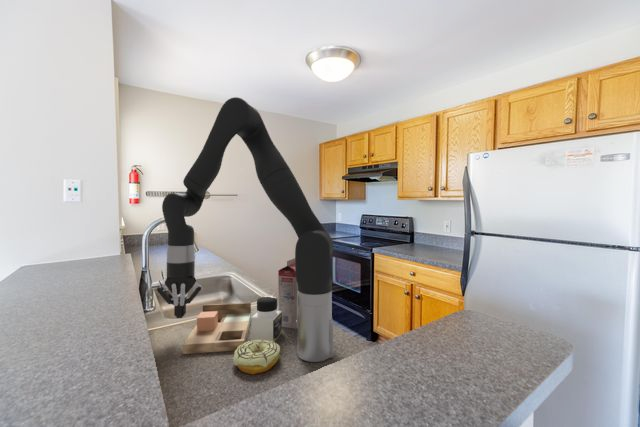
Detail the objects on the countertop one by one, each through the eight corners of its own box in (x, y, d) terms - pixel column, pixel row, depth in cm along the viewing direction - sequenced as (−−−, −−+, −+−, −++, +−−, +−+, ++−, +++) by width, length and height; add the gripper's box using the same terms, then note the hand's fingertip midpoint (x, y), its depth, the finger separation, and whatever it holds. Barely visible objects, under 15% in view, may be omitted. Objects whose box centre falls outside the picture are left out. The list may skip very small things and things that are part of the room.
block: (217, 323, 89) (217, 311, 89) (214, 330, 84) (214, 317, 84) (201, 324, 88) (201, 312, 88) (196, 331, 83) (196, 317, 83)
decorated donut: (225, 374, 66) (225, 357, 66) (244, 350, 77) (244, 335, 77) (272, 378, 64) (272, 360, 64) (284, 352, 76) (284, 337, 76)
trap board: (250, 319, 99) (250, 302, 99) (244, 349, 77) (244, 328, 77) (203, 321, 96) (203, 304, 96) (182, 354, 75) (182, 331, 74)
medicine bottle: (273, 343, 81) (273, 302, 81) (250, 341, 82) (250, 300, 82) (281, 333, 88) (282, 295, 88) (260, 331, 89) (260, 293, 89)
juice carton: (278, 326, 93) (278, 260, 93) (286, 318, 99) (286, 257, 99) (296, 328, 91) (296, 261, 91) (304, 321, 97) (304, 258, 97)
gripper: (151, 262, 79) (150, 323, 79) (200, 261, 81) (200, 321, 81) (162, 257, 86) (161, 313, 86) (207, 257, 88) (206, 311, 89)
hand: (180, 317), depth 84 cm, fingers closed
